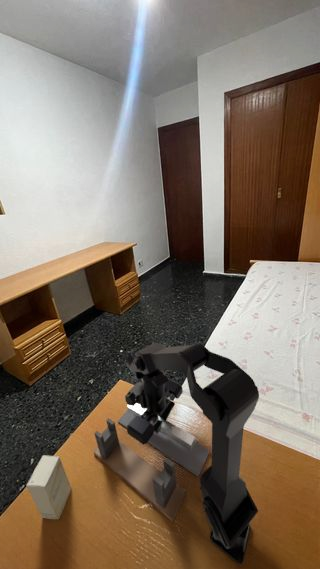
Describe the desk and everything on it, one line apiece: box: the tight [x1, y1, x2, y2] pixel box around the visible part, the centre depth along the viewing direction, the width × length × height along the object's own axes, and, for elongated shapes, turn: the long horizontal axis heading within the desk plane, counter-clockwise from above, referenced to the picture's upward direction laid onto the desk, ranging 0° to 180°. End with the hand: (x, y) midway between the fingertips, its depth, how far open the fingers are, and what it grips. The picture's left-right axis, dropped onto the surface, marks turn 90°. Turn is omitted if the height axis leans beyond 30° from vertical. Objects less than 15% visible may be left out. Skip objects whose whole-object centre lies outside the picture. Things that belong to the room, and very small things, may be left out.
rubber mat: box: [117, 409, 211, 478], centre depth 67 cm, size 28×7×1 cm, turn 55°
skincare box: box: [25, 454, 72, 520], centre depth 52 cm, size 6×4×12 cm
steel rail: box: [126, 403, 196, 451], centre depth 65 cm, size 22×2×2 cm, turn 55°
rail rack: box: [93, 418, 187, 522], centre depth 57 cm, size 26×6×10 cm, turn 55°
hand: (159, 428), depth 66 cm, fingers closed on steel rail, 2 cm apart
